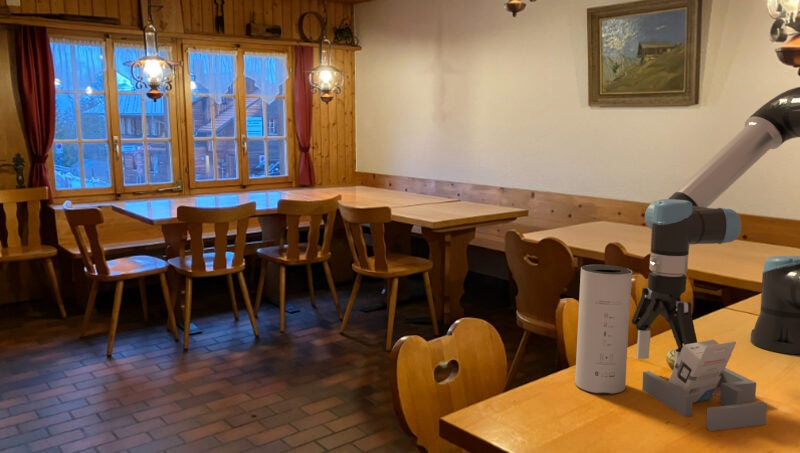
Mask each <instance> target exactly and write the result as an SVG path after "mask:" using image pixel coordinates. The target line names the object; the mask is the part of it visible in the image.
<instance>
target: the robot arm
mask: <svg viewBox="0 0 800 453" xmlns="http://www.w3.org/2000/svg"><path fill="white" fill-rule="evenodd" d="M797 138H800V86H797V87H793V88H790V89H788V90H786V91H783V92H781V93H780V94H778V95H777V96H775V97H773V98H772V99H770V100H769V101H768V102H766V103H765V104H763V105H762V106H760V108H758V109H757V110H756V111H755V112H754V113H753V114H752V115H750V116H749V117H748V118H747V119H746V120H745V122H744V128H743V129H742V130H741V131H739V132H738V133H737V134H736V135H735V136H734V137H733V138H732V139H731V140H729V141H728V142H727V143H726V145H724V147H722V148H721V149H720V150H719V151H718V152H717V153H716V154H715V155H714V156H713V157H711V159H709V160H708V162H707V161H706V163H705V164H704V165H703V166H701V168H699V169H698V170H697V172H695V173H694V174H693V175H692V176H691V177H690V178H689V179H688V180H687V181H686V182H685V183H684V184H683V185H682V186H681V187H679V188H677V190H676V191H675V192H674V193H672V195H671V196H669V197H668V198H667V199H659V200H655V201H653V202H651V203H650V204H649V205H648V206H647V208H646V210H645V214H644V220H645V223H646V226H648V228H649V229H650V230H651V237H650V238H651V239H650V254H649V255H650V257H649V270H650V271H649V272H648V277H647V278H648V280H647V281H648V282H647V287H644V288H642V290H641V297H640V300H639V302H638V304H637V306H636V309H635V312H634V314H633V316H632V319H631V323H632V325H635V328H636V330H637V332H636V333H637V336H636V343H637V344H636V357H635V358H636V359H637V360H647V359H650V348H651V346H650V345H651V336H652V334H651V333H652V332H651V328H652V327H651V325H652V324H653V323H654V321H655V320H656V319H657V317H658V316H659V315H660V316H661V317H662V318H664V319H665V321H666V322H668V325H669V327H670V329H671V333H672V335H673V337H674V340H675V343H676V346H677V348H675V349H676V350H675V362H674V367H675V364H676V362H677V360H678V357H679V355H680V352H681V350H682V348H683V345H686V344H692V343H698V340H697V334H696V330H695V325H694V321H693V315H692V303H691V301H690V302H689V301H685V302H684V301H682V299H681V295H683V294H684V293H685V292H686V290H687V289H686V288H687V275H686V273H687V272H688V270H689V269H688V266H689V254H690V253H689V251H690V246H691V245H708V244H710V245H713V244H718V245H722V244H726V243H732V242H734V241H736V240H737V239H738V237H739V236H740V235H741V232H742V220H741V217H740V215H739V214H738V213H737V212H736V211H735V210H734V209H731V208H724V207H717V208H713V207H711V208H710V206H711V205H712V204H713V203H714V202H715V201H716V200H717V199H718V198H720V196H721V195H722V194H724V193H725V192H726V190H728V189H729V188H730V187H731V186H732V185H733V184H735V183H736V181H738V180H739V179H740V178H741V177H742V176H743V174H745V173H746V172H747V171H748V170H749V169H750V168H752V166H754V165H755V164H756V163H757V162H758V161H759V160H760V159H761V158H762V157H763V156H764V155H765V154H766V153H768V151H770V150H775V149H777V148H779V147H780V146H782V144H783V143H785V142H787V141H789V140H792V139H797ZM761 280H762V282H761V298H760V311H759V315H758V317H757V318H756V322H755V325H754V328H753V329H751V332H750V338H749V339H750V342H751V344H753V345H754V346H755V347H758V348H761V349H763V350H767V351H771V352H777V353H779V354H780V353H781V354H789V355H800V255H775V256H769V257H768V258H766V260H765V261H764V265H763V270H762V278H761Z"/></svg>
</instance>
